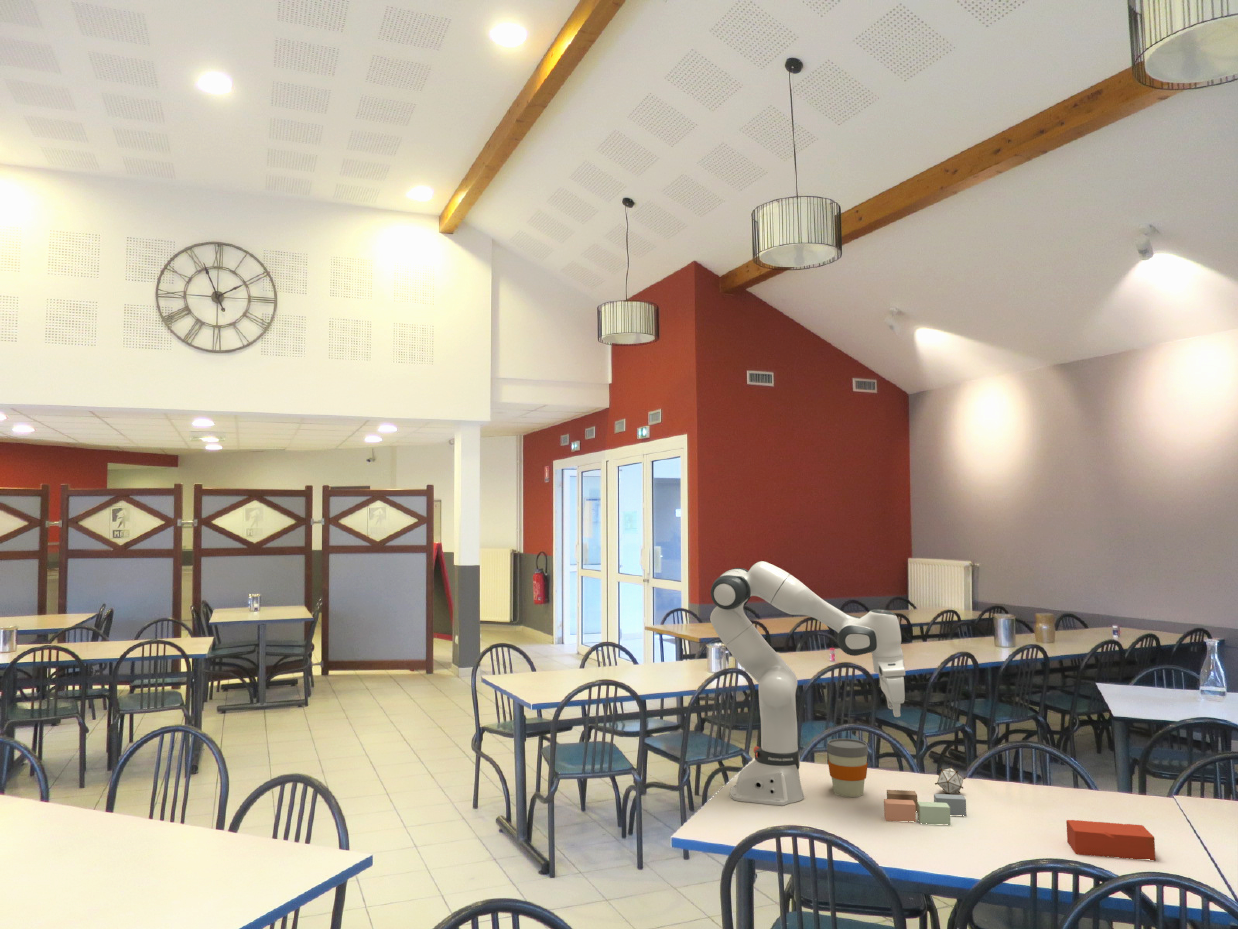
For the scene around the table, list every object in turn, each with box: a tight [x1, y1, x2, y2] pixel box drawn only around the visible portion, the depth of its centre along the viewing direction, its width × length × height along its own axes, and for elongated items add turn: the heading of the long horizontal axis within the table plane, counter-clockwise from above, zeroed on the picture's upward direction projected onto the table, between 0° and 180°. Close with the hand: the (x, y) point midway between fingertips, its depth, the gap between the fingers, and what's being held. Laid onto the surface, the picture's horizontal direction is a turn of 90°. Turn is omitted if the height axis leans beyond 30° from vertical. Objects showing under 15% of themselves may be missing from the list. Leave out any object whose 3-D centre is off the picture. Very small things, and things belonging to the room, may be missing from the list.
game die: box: [934, 765, 967, 795], centre depth 266 cm, size 9×8×10 cm
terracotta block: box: [883, 798, 917, 823], centre depth 243 cm, size 8×4×5 cm, turn 81°
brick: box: [1066, 819, 1156, 861], centre depth 219 cm, size 18×9×6 cm, turn 75°
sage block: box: [916, 801, 951, 826], centre depth 241 cm, size 8×4×5 cm, turn 82°
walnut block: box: [886, 789, 918, 811], centre depth 252 cm, size 8×4×5 cm, turn 81°
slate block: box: [933, 793, 967, 816], centre depth 248 cm, size 8×4×5 cm, turn 80°
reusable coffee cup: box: [826, 738, 869, 798], centre depth 268 cm, size 13×13×15 cm
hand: (894, 712), depth 252 cm, fingers open, 8 cm apart
